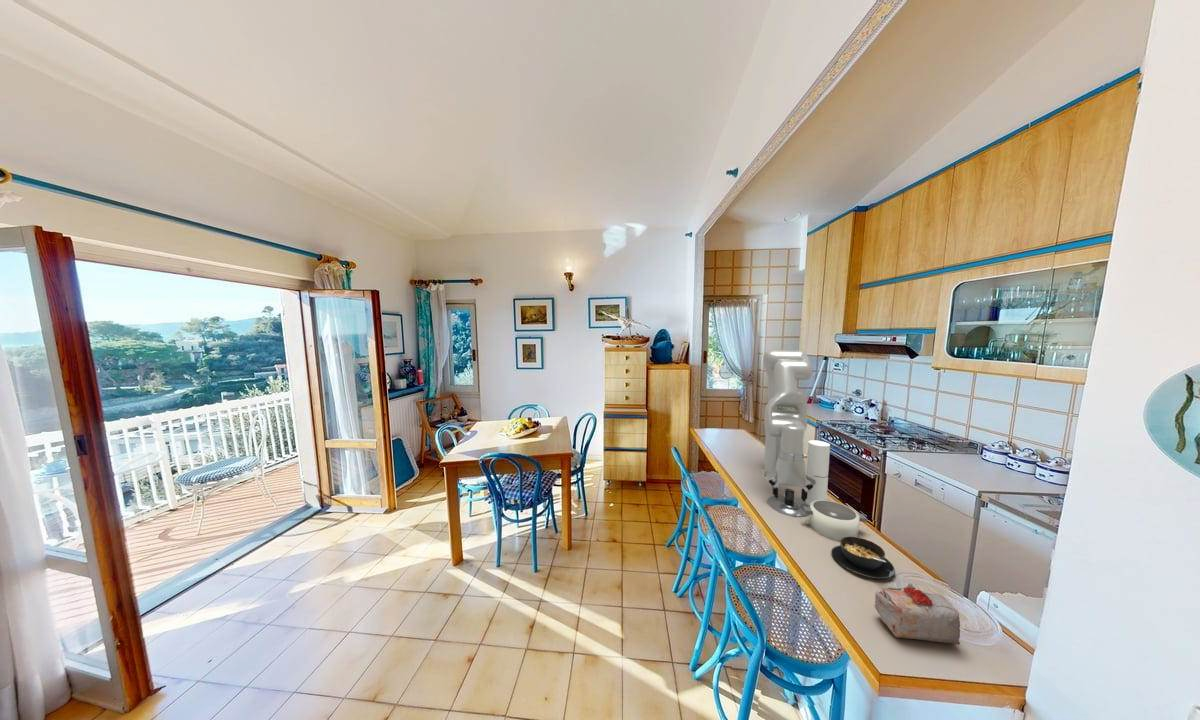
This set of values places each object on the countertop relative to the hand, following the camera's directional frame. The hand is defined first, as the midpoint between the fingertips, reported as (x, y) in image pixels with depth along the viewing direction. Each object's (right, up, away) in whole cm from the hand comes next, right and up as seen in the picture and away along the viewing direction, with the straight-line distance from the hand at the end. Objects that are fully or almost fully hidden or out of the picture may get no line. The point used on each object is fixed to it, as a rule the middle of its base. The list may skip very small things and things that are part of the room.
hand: (789, 498), depth 130 cm
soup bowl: (+4, -7, -31) cm, 32 cm away
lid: (0, -4, +1) cm, 4 cm away
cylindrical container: (+12, -4, +3) cm, 13 cm away
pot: (+7, -5, -14) cm, 17 cm away
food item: (-1, -9, -53) cm, 54 cm away
